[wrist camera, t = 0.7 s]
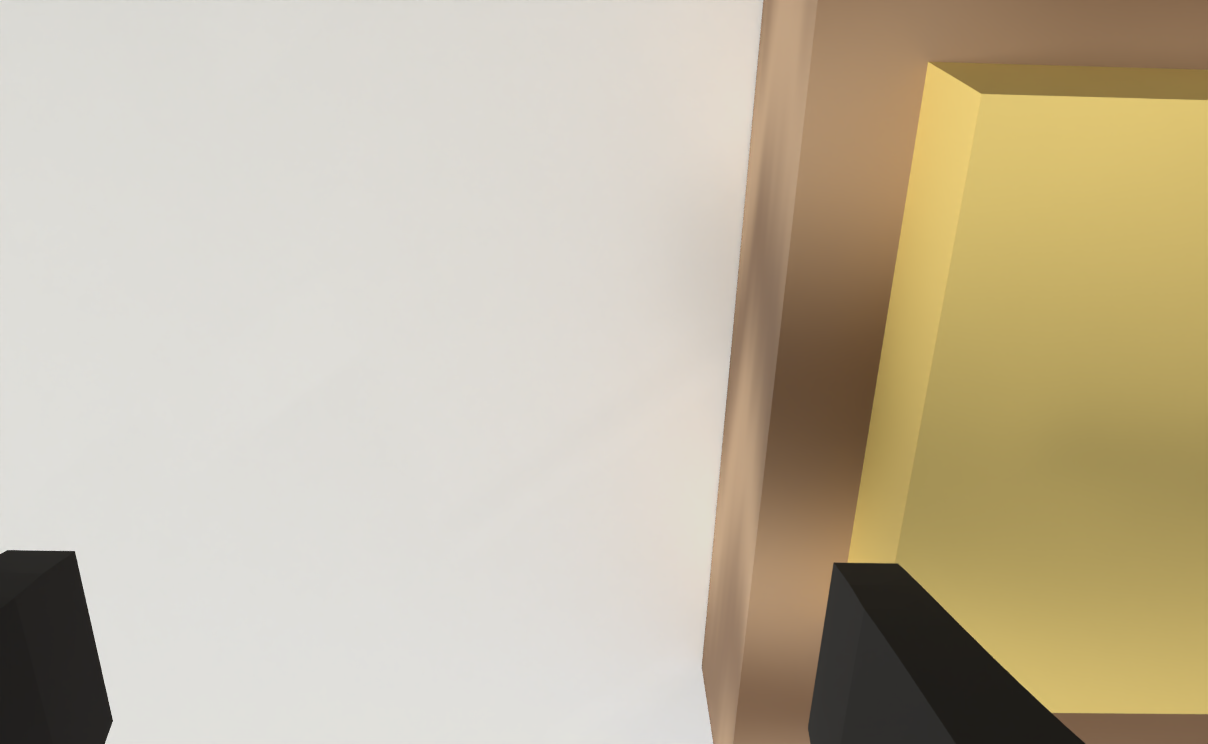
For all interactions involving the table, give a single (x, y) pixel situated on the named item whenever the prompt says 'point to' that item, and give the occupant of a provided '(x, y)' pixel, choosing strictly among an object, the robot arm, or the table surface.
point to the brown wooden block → (854, 311)
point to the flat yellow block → (1053, 379)
